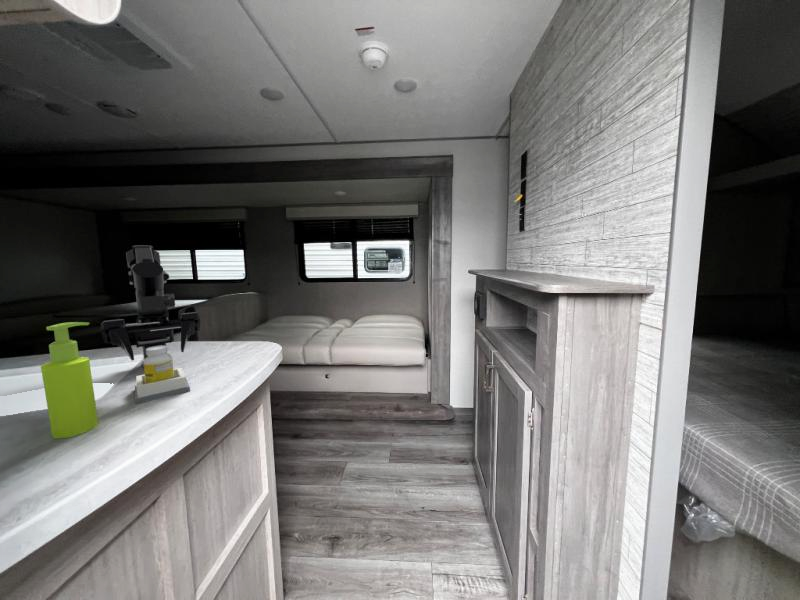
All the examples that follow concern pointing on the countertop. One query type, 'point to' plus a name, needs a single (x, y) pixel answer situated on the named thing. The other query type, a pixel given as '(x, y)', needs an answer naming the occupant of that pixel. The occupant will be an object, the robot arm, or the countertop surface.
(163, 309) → the robot arm
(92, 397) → the soap dispenser
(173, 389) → the cream square open box
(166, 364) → the supplement bottle
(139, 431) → the countertop surface
